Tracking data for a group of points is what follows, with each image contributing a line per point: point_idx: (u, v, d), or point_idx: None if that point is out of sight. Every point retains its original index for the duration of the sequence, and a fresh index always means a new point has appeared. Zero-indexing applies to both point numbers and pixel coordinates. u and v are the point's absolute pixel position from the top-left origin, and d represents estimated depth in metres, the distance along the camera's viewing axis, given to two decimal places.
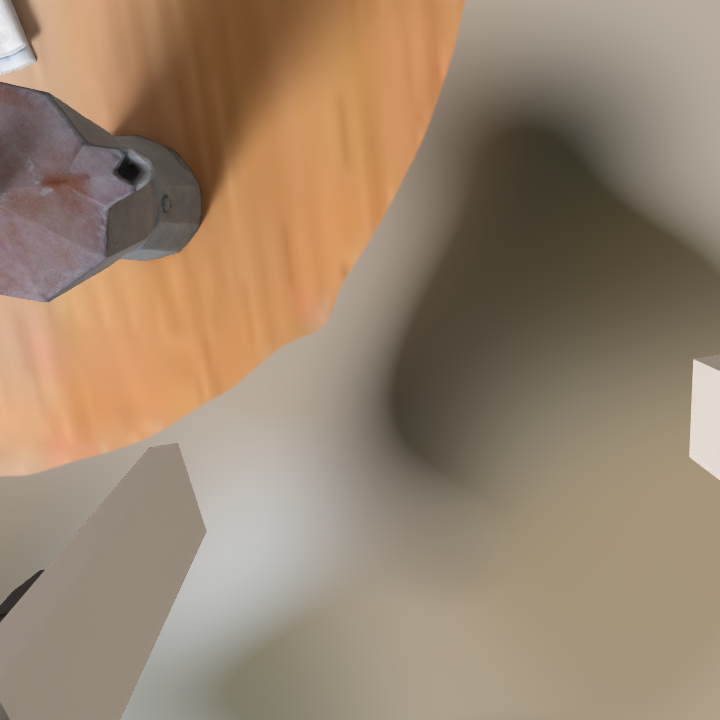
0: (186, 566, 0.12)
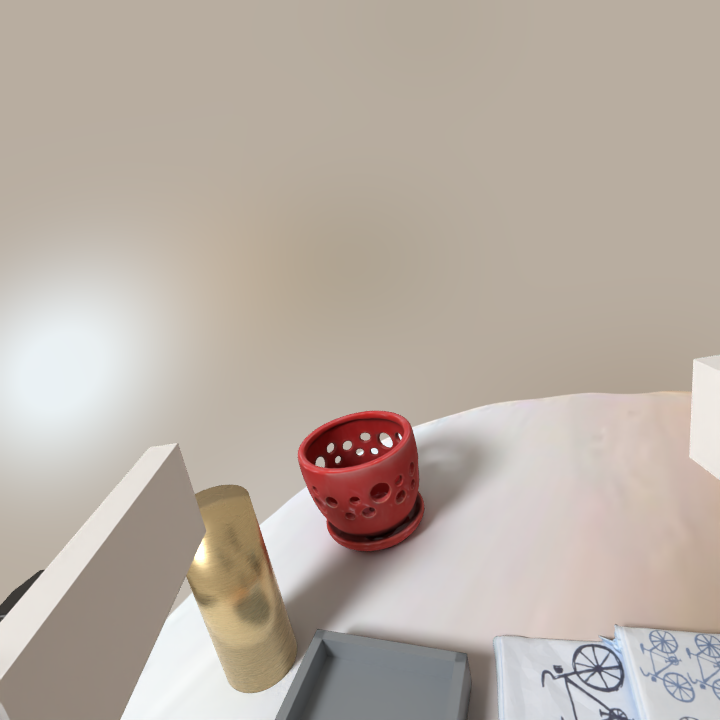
0: (186, 566, 0.12)
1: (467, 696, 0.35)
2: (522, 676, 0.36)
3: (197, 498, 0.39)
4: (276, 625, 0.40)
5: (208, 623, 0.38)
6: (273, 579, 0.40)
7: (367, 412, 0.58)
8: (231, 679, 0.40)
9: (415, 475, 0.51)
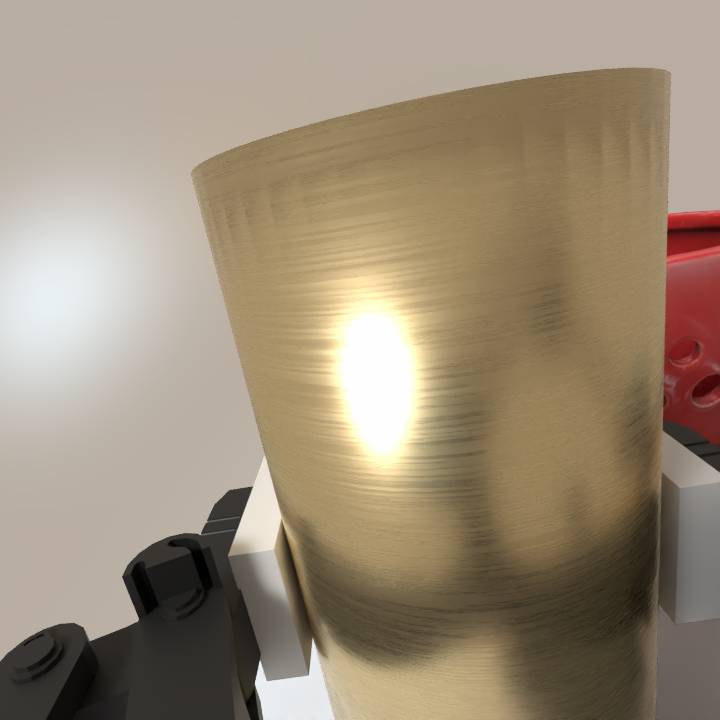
0: None
1: None
2: None
3: None
4: None
5: None
6: None
7: None
8: None
9: None
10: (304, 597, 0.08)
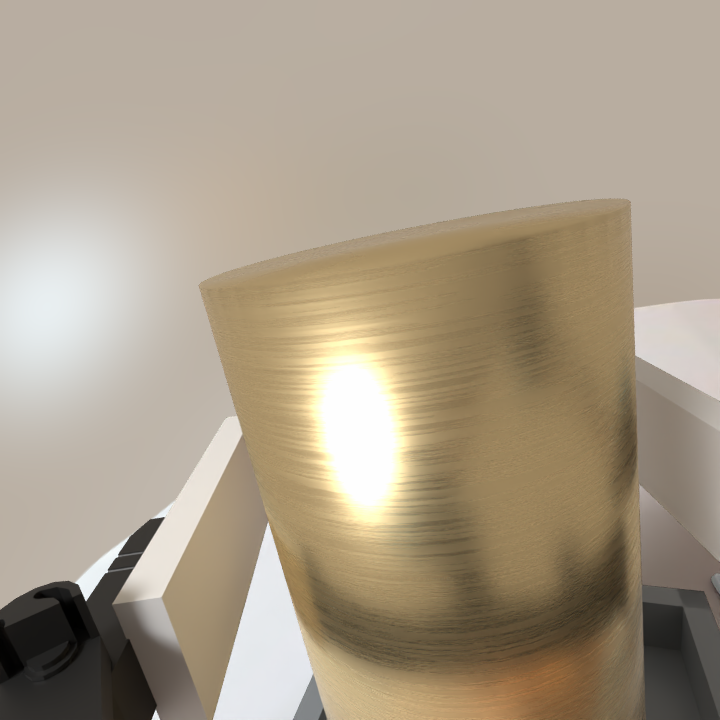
0: (264, 525, 0.13)
1: None
2: None
3: (318, 249, 0.10)
4: None
5: None
6: None
7: None
8: None
9: None
10: (310, 659, 0.09)
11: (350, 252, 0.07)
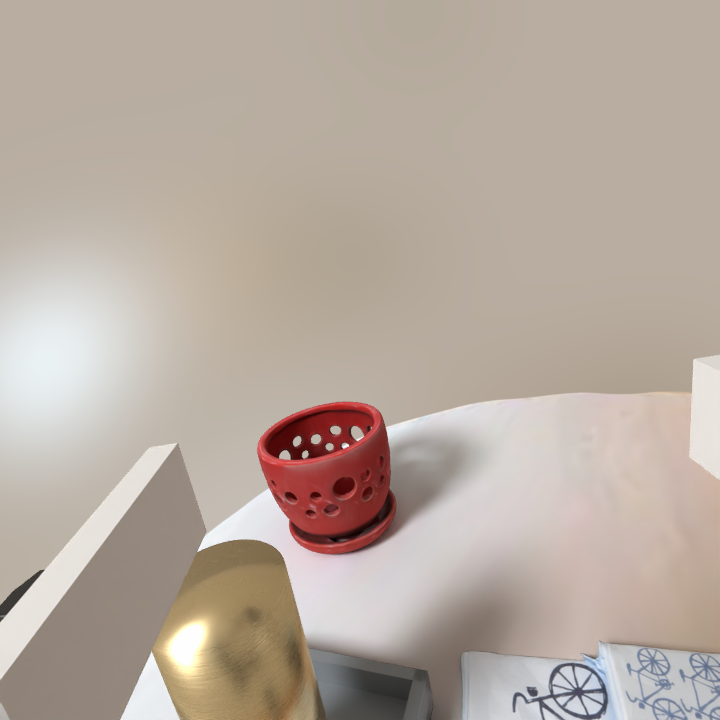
0: (186, 566, 0.12)
1: None
2: (491, 699, 0.31)
3: (197, 563, 0.24)
4: None
5: None
6: (318, 701, 0.24)
7: (337, 403, 0.54)
8: None
9: (385, 471, 0.47)
10: None
11: (194, 600, 0.21)
